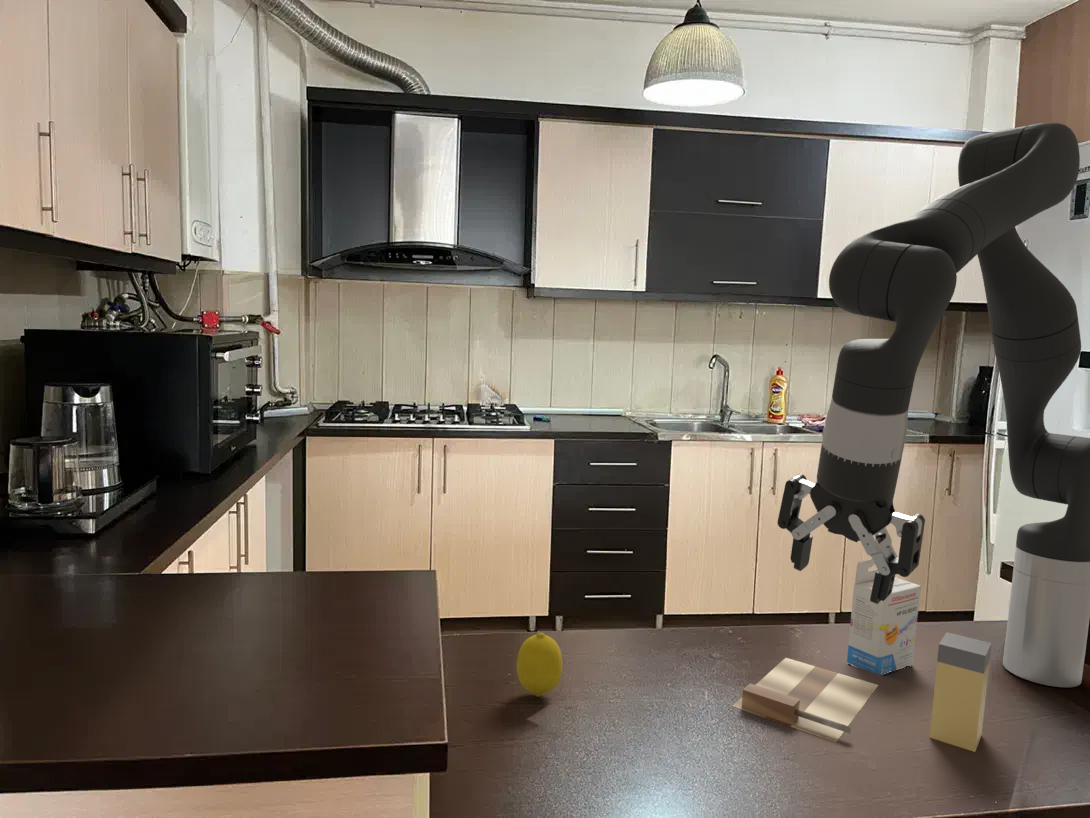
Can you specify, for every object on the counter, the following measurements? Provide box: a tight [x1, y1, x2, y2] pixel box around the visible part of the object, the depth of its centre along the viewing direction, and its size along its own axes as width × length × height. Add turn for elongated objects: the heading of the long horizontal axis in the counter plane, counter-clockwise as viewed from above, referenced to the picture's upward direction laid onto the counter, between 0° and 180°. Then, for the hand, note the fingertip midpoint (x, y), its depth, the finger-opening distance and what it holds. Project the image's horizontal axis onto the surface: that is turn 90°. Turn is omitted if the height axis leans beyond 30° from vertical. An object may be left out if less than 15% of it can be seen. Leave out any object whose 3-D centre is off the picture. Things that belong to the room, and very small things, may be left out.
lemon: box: [516, 632, 563, 698], centre depth 93 cm, size 6×6×8 cm
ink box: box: [846, 558, 922, 676], centre depth 106 cm, size 8×5×15 cm, turn 123°
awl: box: [741, 682, 852, 734], centre depth 88 cm, size 2×12×2 cm, turn 53°
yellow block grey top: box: [929, 631, 992, 753], centre depth 86 cm, size 4×4×12 cm
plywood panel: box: [731, 657, 879, 743], centre depth 94 cm, size 18×12×1 cm, turn 143°
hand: (837, 582), depth 83 cm, fingers open, 8 cm apart
